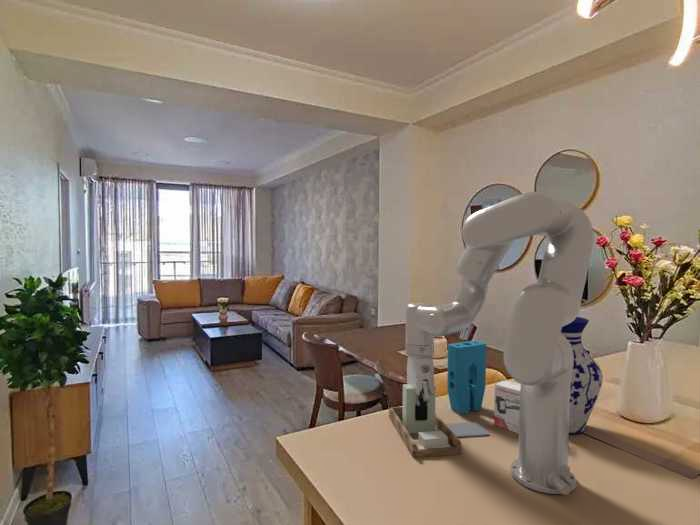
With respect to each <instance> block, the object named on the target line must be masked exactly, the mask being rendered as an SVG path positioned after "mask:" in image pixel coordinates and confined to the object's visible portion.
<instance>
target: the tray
mask: <svg viewBox="0 0 700 525" xmlns="http://www.w3.org/2000/svg"><path fill="white" fill-rule="evenodd" d="M402 411H403V406H390V407H389V408H388V418H389V420H390V422H391V424H392V425H393V427H394V428H395V430H396V432H397V434H399V437H400V438H401V440H402V441H403V443H404V445H405V447H406V449H407V450H408V452H409V454H410V455H411V457H412V458H425V457H427V458H428V457H437V456H438V457H439V456H440V457H441V456H451V455H454V456H455V455H461V454H462V441H461V440H460V439H459V438H457V437H456V436H455V434H454V433H453V432H452V431H451V430H450V429H449V428H448V427H447V425H446V424H447V423H445V422H444V421H443V420H442V419H441V418H440V416H439V415H438V414H437V413H436V412H435V430H436V431H442V432H443V433H444V434H445V435H446V436H447V437H448V444H449V445H450V446H451V447H442V448H427V449H416V443H415V442H414V440H415V439H413V437H412V436H411V433H410V434H409V433H408V431H407V430H406V428H405V426H404V425H403V423H402V420H401V419H402Z"/></svg>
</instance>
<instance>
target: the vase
mask: <svg viewBox="0 0 700 525" xmlns="http://www.w3.org/2000/svg"><path fill="white" fill-rule="evenodd" d="M589 322H590V320H589V319H587V318H584V317H580V316H577V317H576V319H575V320H574V321H573V322H571V323H570V324H568V325H566V326H563V327H562V329H561V333H560V334H562V335H563V336H564V337H565V338H566V339H567V340H568V341H569V343H570V345H571V347H572V350H573V355H574V364H573V372H572V378H571V386H570V404H569V436H571V435H572V436H574V435H575V436H576V435H580V434H583V432H584V431H585V428H586V425H587V423H588V421H589V419H590V416H591V414H592V412H593V409H594V406H595V405H596V402H597V401H598V397H599V394H600V391H601V389H602V385H603V378H604V376H603V372H602V370H601V368H600V365H599V364H598V363H597V362H596V360H594V358H593V357H592V356H591V355H590V354H589V353H588V351H587V350H586V349H585V347H584V346H583V343H582V334H583V332H584V330H585V328H586V327H587V325H588V323H589Z"/></svg>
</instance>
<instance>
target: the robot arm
mask: <svg viewBox="0 0 700 525" xmlns="http://www.w3.org/2000/svg"><path fill="white" fill-rule="evenodd" d="M461 235H462V240H463V242H464V243H465V245H467V246H466V247H465V249H464V251H463V252H462V254H461V256H460V258H459V260H458V261H457V263H456V265H455V270H456V272H457V274H458V275H459V276H460V277H461V281H462V282H461V286H460V289H459V291H458V293H457V294H456V295H455V297H454V299H453V301H452V302H451V303H447V304H442V305H436V306H434V305H433V304H431V303H427V302H411V303H408V304H407V305H406V307H405V342H404V343H405V347H404V348H405V349H404V350H405V351H404V352H405V355H406V356H407V361H406V362H407V363H406V383H407V384H410V385H411V387H412V388H413V390H414V393H415V394H416V402H417V405H415V420H416V421H422V420H427V408H428V401H430V398H429V393H430V394H431V395H433V394H434V386H435V369H434V359H433V357H434V354H435V351H434V349H435V337H445V336H449V335H452V334H456V333H459V332H463V331H465V330H466V329H468V328H469V327H470V326H471V325H472V323H473V322H474V321H475V319H476V317H477V316H478V314H479V313H480V312H481V309H482V308H483V306H484V304H485V301H486V297H487V293H488V287H489V286H488V285H489V283H490V281H491V279H492V277H493V276H494V274H495V272H496V271H497V269H498V267H499V266H500V264H501V262H502V261H503V259H504V258H505V257H506V255H507V253H508V252H509V250H510V248H511V246H512V245H513V244H514V242H515V241H517V240H520V239H524V238H526V237H527V238H528V237H530V236H531V237H532V236H541V237H542V236H543V237H544V236H545V237H546V238H547V241H548V243H547V246H546V248H545V251H544V254H543V255H542V256H543V257H542V259H541V266H540V270H539V274H538V278H537V281H536V282H535V283H532V284H530V285H527V286H526V287H524V288H523V289H521V291H520V292H519V293H518V294H517V296H516V298H515V300H514V302H513V305H512V308H511V312H510V318H509V321H508V322H509V324H508V327H507V332H506V337H505V341H504V347H503V365H504V368H505V370H506V372H507V373H508V375H509V376H510V378H512V379H513V381H515V382H516V383H518V384H521V388H520V411H519V433H518V459H515V460H514V461H513V462H511V465H510V474H511V475H512V477H513V478H514V480H516V481H517V482H518V483H519V484H521V485H523V486H524V487H526V488H529V489H531V490H534V491H536V492H540V493H544V494H550V495H551V494H552V495H564V496H567V495H569V494H570V492H573V491H574V490H575V489H576V488H577V486H578V484H577V479H576V476H575V475H574V474H573V473H572V471H571V468H570V466H568V465H569V464H568V463H569V436H570V435H569V404H570V386H571V378H572V372H573V364H574V355H573V350H572V347H571V345H570V343H569V341H568V340H567V339H566V338H565V337H564V336H563V335H562V334H560V333H561V329H562V327H563V326H566V325H568V324H570V323H571V322H573V321H574V320H575V319H576V317H579V312H580V311H581V310H580V309H581V304H582V299H583V294H584V291H585V290H584V289H585V285H586V281H587V277H588V270H589V266H590V261H591V257H592V251H593V245H594V237H595V236H594V230H593V225H592V222H591V220H590V219H589V216H588V215H587V214H586V213H585V212H584V210H583V209H581V207H579V206H578V205H577V204H575V203H573V202H571V201H570V200H568V199H566V198H563V197H561V196H558V195H553V194H549V193H544V192H541V191H530V192H524V193H520V194H518V195H516V196H513V197H510V198H508V199H506V200H503V201H500V202H497V203H494V204H492V205H489V206H487V207H484V208H481V209H479V210H477V211H475V212H474V213H471V215H469V216H468V217H467V218H466V220H465V221H464V223H463V225H462V229H461ZM428 389H429V390H428ZM420 392H423V393H420ZM420 396H423V397H422V398H421V399H420Z"/></svg>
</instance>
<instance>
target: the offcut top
mask: <svg viewBox="0 0 700 525" xmlns="http://www.w3.org/2000/svg"><path fill="white" fill-rule="evenodd" d="M417 440H418V441H419V442H420V443H421V445H422V446H423V447H424V448H429V447H440V446H448V444H449V443H448V437H447V436H446V435H445V434H444V433H443V432H442V431H438V430H435V431H429V432H418V433H417Z"/></svg>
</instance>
